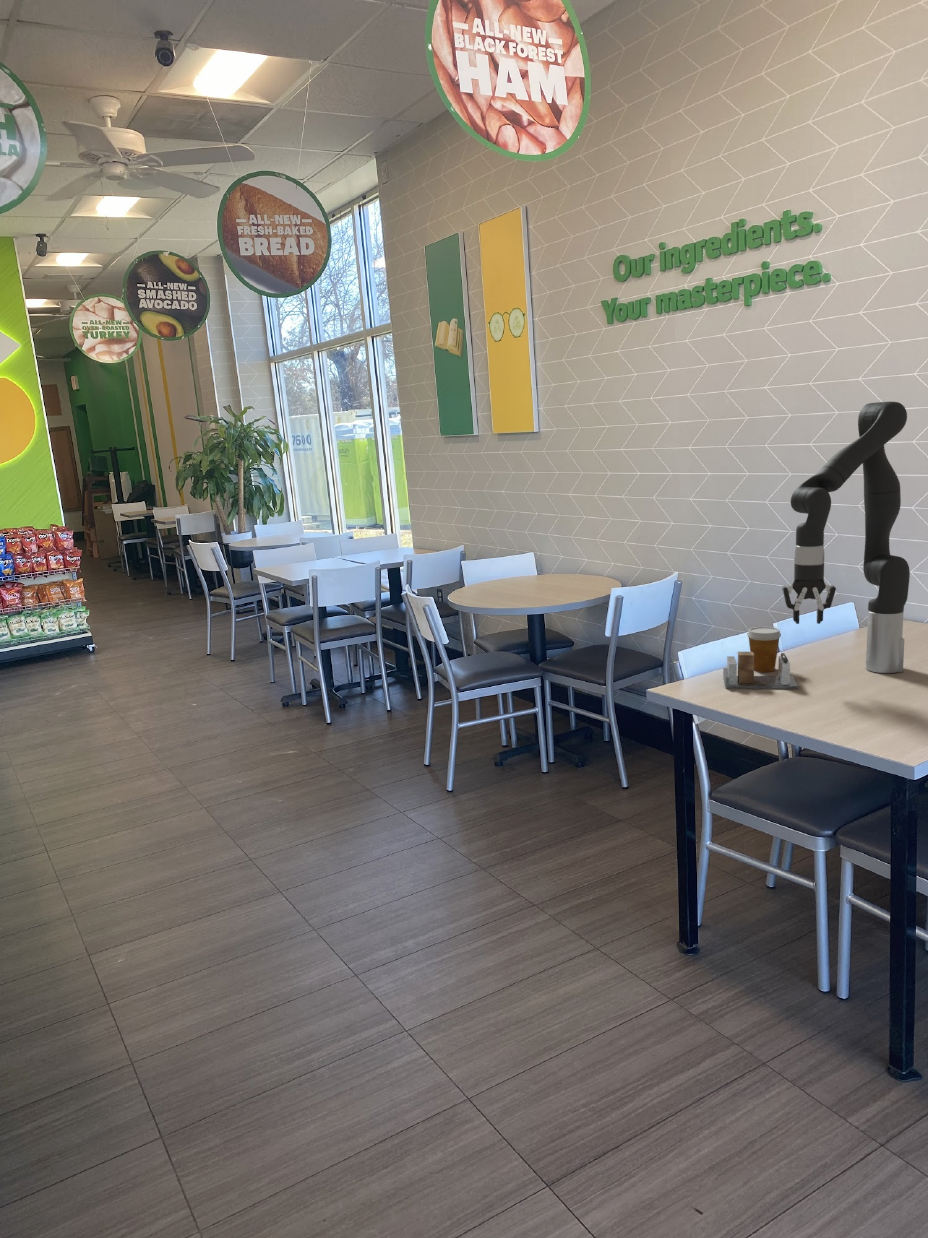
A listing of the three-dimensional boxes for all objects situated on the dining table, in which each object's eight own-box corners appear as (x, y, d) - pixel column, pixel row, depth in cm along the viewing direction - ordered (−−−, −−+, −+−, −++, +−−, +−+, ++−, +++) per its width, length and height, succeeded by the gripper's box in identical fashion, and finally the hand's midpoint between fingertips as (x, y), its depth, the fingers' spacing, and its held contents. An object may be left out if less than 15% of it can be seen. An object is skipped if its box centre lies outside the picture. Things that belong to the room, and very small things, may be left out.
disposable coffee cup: (776, 664, 271) (776, 625, 268) (784, 673, 262) (784, 633, 259) (743, 665, 272) (743, 626, 269) (750, 674, 263) (750, 634, 260)
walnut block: (752, 678, 255) (752, 651, 253) (753, 683, 251) (754, 655, 250) (737, 678, 256) (737, 651, 254) (738, 682, 252) (739, 655, 250)
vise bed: (792, 678, 256) (793, 655, 254) (797, 689, 246) (798, 665, 245) (723, 678, 260) (723, 655, 258) (725, 688, 250) (725, 665, 249)
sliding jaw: (785, 676, 255) (786, 651, 254) (789, 685, 247) (790, 659, 246) (778, 676, 256) (778, 651, 254) (782, 684, 248) (782, 659, 246)
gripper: (783, 564, 241) (782, 626, 245) (840, 563, 238) (838, 626, 242) (779, 560, 248) (778, 620, 252) (835, 558, 245) (833, 620, 249)
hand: (807, 622), depth 247 cm, fingers open, 5 cm apart
